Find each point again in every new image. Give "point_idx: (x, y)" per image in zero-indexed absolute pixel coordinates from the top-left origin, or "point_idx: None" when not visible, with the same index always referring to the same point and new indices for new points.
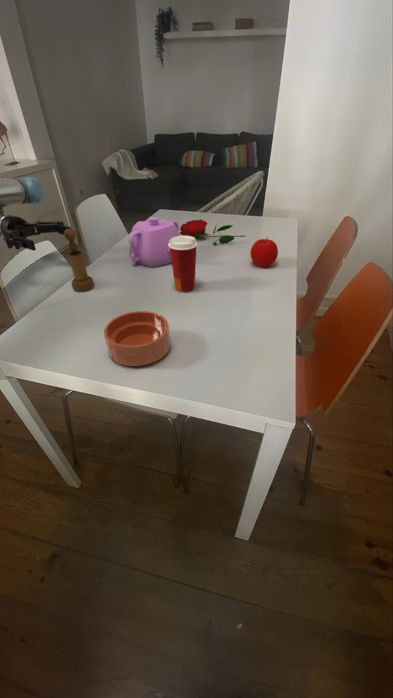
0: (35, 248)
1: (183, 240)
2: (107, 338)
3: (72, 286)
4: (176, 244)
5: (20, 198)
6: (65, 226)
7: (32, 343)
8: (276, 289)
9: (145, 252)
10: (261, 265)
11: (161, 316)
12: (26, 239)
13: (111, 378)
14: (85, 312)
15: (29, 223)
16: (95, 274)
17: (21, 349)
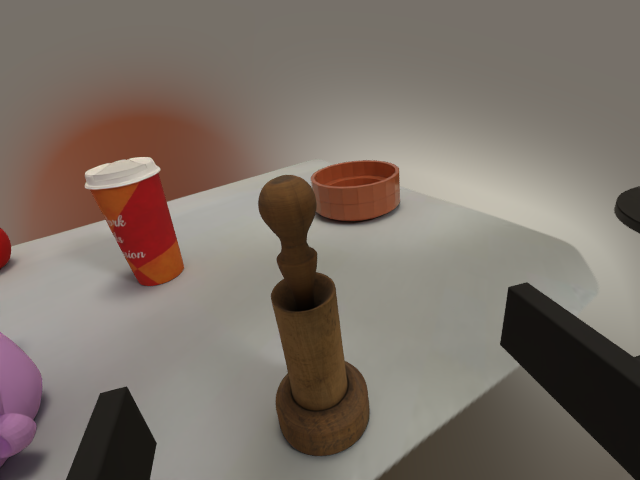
0: (502, 336)
1: (124, 163)
2: (397, 169)
3: (368, 408)
4: (152, 160)
5: None
6: (81, 469)
7: (522, 255)
8: (108, 225)
9: (14, 364)
10: (9, 258)
11: (312, 177)
12: (579, 328)
13: (412, 192)
14: (388, 290)
15: None
16: None
17: (545, 251)
